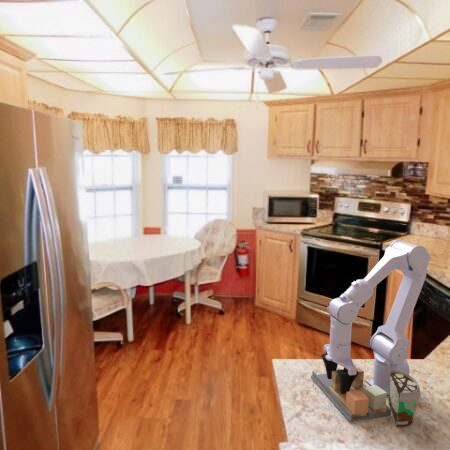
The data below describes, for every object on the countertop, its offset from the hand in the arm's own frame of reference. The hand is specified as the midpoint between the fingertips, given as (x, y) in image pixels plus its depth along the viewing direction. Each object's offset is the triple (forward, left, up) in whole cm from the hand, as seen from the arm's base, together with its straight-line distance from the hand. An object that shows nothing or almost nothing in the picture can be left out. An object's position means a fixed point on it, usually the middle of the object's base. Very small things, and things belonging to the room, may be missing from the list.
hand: (337, 385), depth 110 cm
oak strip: (0, +5, -3) cm, 6 cm away
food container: (-12, +13, -3) cm, 18 cm away
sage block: (-6, +9, -1) cm, 11 cm away
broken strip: (-6, +5, -3) cm, 8 cm away
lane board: (-3, +1, -3) cm, 4 cm away
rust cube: (0, +10, -1) cm, 10 cm away
